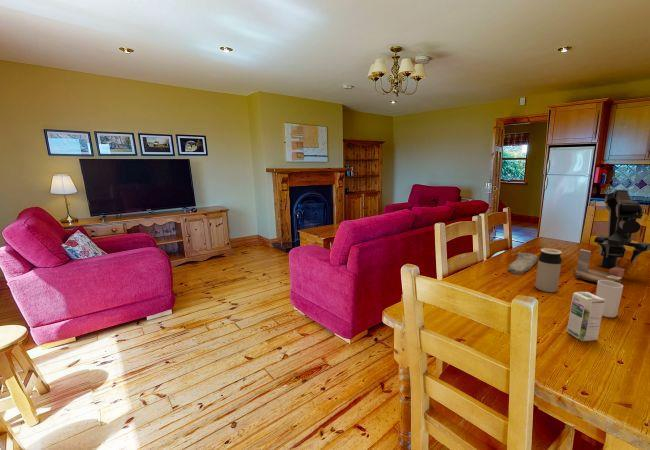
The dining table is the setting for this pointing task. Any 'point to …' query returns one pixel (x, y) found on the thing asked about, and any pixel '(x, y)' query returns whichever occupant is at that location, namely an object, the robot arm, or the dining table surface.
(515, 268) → the elongated rock
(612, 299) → the mug
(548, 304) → the dining table surface
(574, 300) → the syrup box
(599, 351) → the dining table surface
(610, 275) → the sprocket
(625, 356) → the dining table surface
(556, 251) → the travel mug
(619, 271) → the dusty pink block
